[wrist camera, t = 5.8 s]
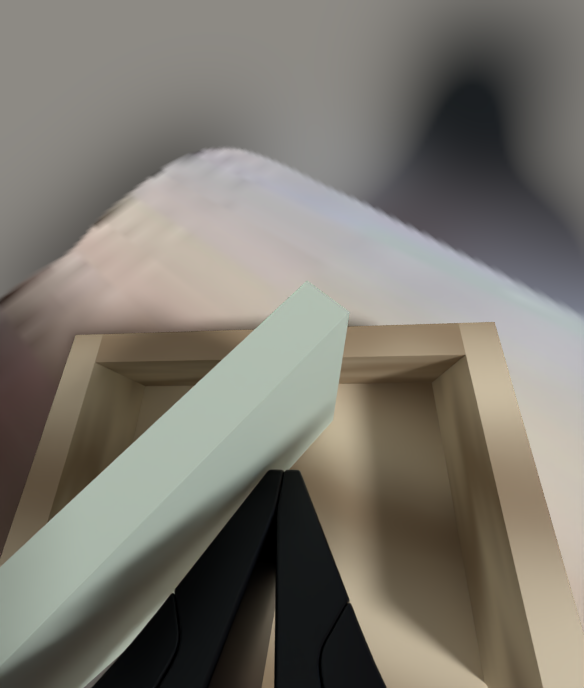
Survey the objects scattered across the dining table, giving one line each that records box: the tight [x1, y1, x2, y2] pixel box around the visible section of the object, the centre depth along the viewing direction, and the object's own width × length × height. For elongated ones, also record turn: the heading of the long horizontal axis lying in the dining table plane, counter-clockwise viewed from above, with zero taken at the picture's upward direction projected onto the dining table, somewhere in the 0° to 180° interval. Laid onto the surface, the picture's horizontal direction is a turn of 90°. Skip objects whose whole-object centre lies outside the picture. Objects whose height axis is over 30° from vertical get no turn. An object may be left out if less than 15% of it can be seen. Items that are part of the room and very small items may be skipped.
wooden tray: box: [0, 322, 584, 688], centre depth 11 cm, size 12×16×4 cm
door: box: [0, 281, 350, 688], centre depth 7 cm, size 1×12×10 cm, turn 135°
